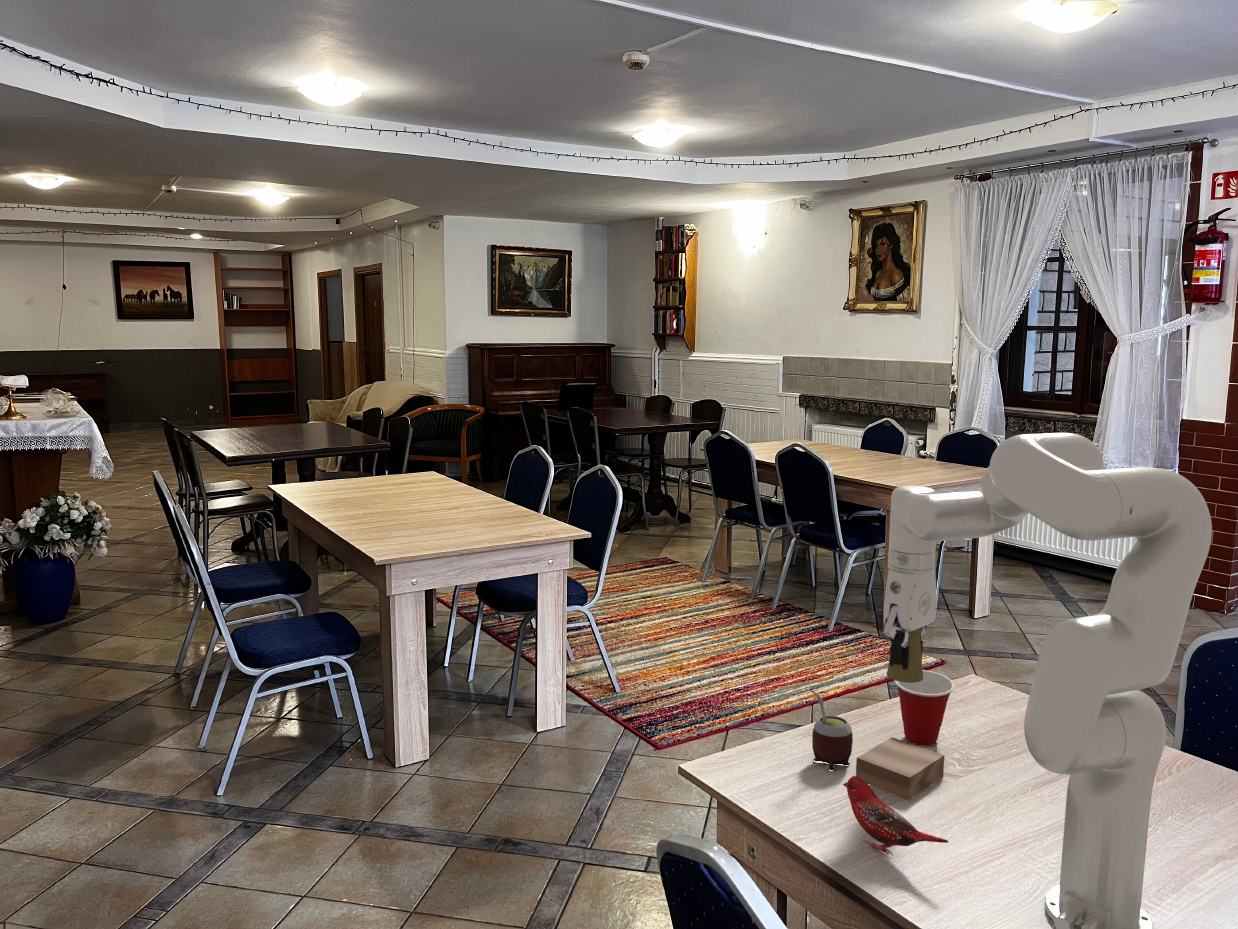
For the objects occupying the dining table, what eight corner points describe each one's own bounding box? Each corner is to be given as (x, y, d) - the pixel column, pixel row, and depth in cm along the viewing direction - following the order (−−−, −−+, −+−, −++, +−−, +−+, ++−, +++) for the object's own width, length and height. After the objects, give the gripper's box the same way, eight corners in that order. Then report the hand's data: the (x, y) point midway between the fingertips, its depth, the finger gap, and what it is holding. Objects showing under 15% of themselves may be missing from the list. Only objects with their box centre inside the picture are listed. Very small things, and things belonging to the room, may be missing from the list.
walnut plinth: (908, 800, 152) (909, 777, 152) (855, 779, 160) (856, 757, 159) (943, 776, 161) (944, 755, 160) (891, 758, 168) (892, 737, 167)
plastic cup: (890, 748, 172) (893, 686, 170) (891, 725, 182) (894, 667, 180) (952, 756, 169) (956, 693, 167) (949, 732, 179) (953, 673, 177)
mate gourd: (851, 757, 168) (855, 678, 166) (851, 777, 160) (855, 694, 158) (809, 752, 170) (812, 674, 168) (807, 772, 162) (810, 690, 160)
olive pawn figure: (925, 684, 154) (929, 620, 153) (887, 681, 155) (891, 618, 154) (921, 671, 160) (924, 610, 158) (885, 668, 161) (888, 607, 160)
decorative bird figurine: (846, 828, 143) (848, 768, 142) (951, 879, 130) (955, 812, 129) (834, 835, 142) (837, 773, 140) (941, 886, 128) (945, 819, 127)
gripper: (906, 572, 146) (900, 683, 149) (955, 555, 158) (949, 658, 160) (865, 563, 152) (860, 670, 154) (915, 548, 163) (909, 647, 166)
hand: (905, 663), depth 157 cm, fingers closed on olive pawn figure, 3 cm apart
